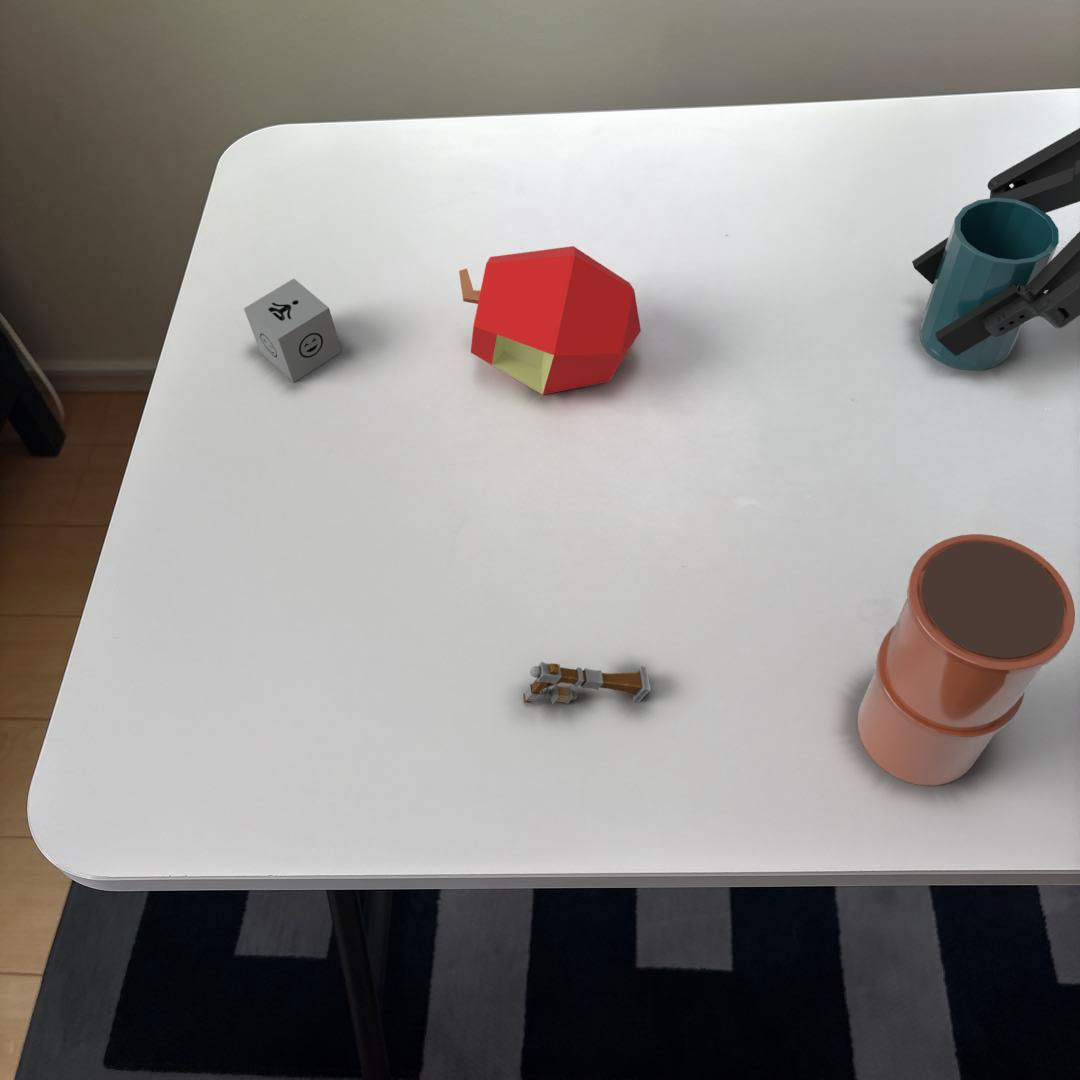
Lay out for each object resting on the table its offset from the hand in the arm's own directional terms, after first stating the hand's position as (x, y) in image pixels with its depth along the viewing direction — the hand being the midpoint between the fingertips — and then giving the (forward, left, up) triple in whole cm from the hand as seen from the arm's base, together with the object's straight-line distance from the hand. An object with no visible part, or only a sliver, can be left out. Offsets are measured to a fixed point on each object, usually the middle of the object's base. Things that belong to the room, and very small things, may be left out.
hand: (933, 307), depth 84 cm
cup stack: (-35, -1, -4) cm, 35 cm away
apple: (-8, +29, -4) cm, 30 cm away
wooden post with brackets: (-38, +20, -4) cm, 43 cm away
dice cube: (-11, +51, -4) cm, 52 cm away
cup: (+1, -3, -4) cm, 5 cm away
